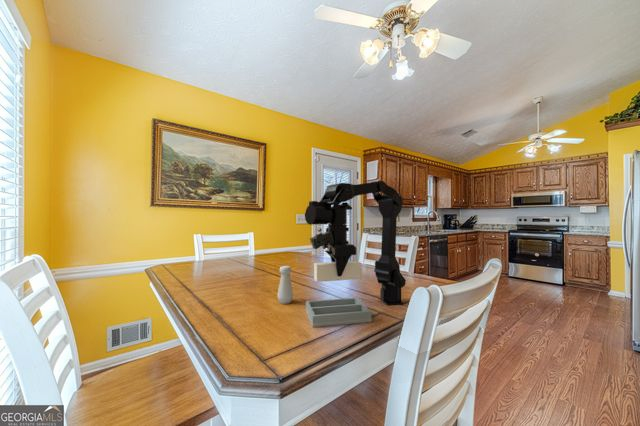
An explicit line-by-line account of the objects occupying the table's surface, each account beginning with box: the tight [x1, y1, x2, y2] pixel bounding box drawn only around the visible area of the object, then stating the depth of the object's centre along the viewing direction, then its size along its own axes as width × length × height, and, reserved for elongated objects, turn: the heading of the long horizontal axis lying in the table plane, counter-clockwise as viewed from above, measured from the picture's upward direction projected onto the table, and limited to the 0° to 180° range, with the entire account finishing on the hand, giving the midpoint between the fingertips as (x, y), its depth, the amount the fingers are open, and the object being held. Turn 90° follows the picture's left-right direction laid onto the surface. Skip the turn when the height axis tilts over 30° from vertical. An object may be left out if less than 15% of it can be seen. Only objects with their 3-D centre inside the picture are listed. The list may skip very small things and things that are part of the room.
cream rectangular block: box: [313, 260, 362, 283], centre depth 77 cm, size 14×4×5 cm, turn 105°
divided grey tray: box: [305, 297, 373, 328], centre depth 79 cm, size 18×13×3 cm
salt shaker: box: [277, 265, 294, 305], centre depth 92 cm, size 6×6×13 cm
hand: (337, 274), depth 77 cm, fingers closed on cream rectangular block, 4 cm apart
